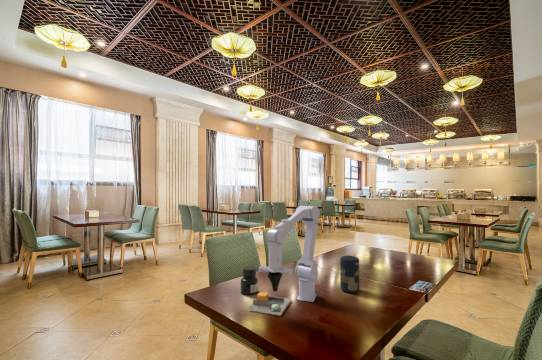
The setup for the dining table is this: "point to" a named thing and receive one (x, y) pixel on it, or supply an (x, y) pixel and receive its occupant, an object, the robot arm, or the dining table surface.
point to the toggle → (262, 296)
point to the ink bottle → (249, 281)
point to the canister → (349, 273)
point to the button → (275, 307)
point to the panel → (266, 306)
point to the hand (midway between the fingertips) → (275, 290)
